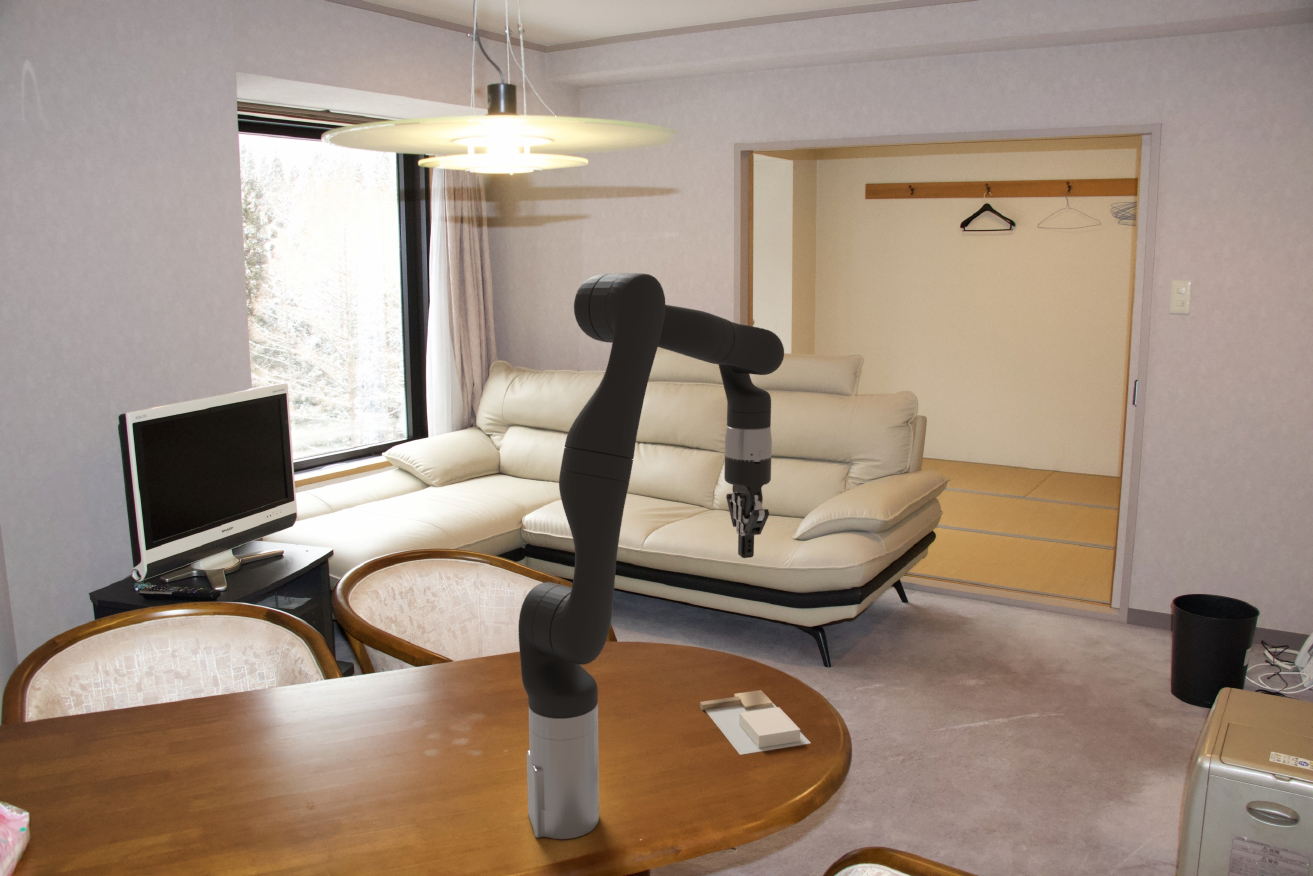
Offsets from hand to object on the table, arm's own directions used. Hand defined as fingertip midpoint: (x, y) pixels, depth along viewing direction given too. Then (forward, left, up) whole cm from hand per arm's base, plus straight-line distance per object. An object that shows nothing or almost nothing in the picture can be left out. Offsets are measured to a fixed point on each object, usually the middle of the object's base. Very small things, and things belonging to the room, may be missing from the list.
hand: (745, 556), depth 159 cm
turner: (-1, +1, -26) cm, 26 cm away
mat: (-1, -6, -27) cm, 28 cm away
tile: (0, -6, -25) cm, 26 cm away
